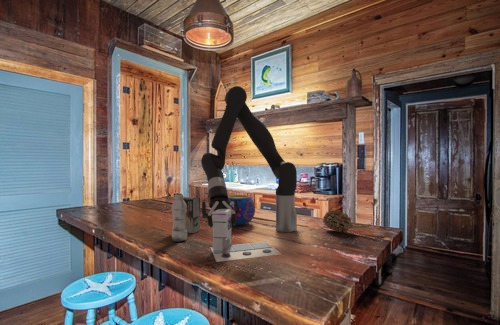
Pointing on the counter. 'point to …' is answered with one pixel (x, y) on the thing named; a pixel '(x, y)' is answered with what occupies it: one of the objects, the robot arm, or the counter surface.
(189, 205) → the coffee box
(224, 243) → the peg
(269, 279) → the counter surface
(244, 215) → the ceramic pot
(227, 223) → the syrup box
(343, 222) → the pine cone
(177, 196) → the plastic bottle
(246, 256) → the board
